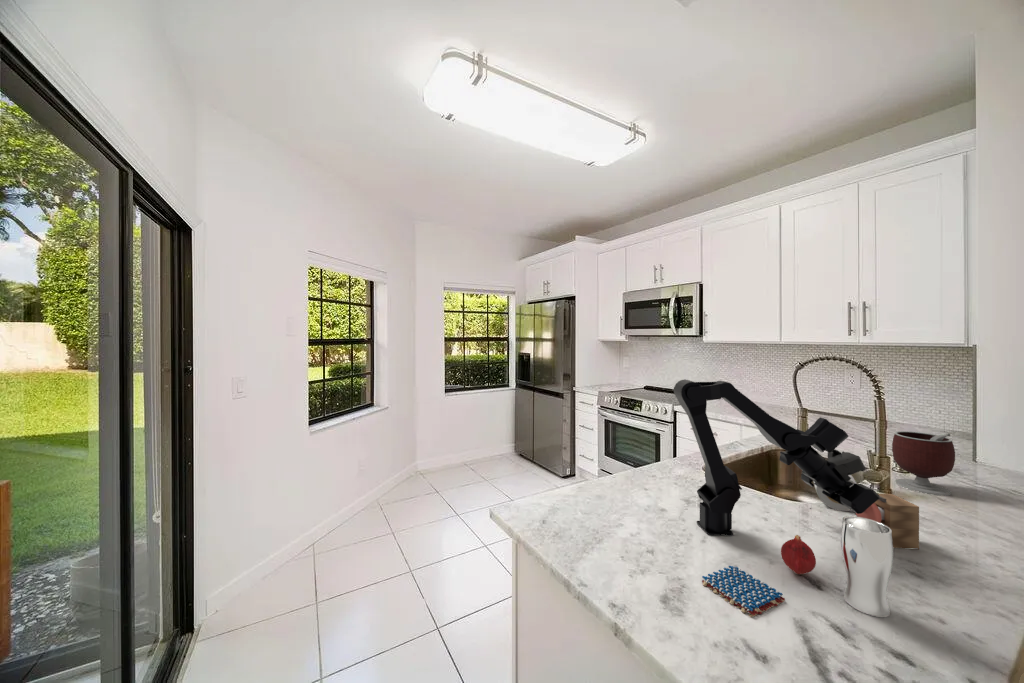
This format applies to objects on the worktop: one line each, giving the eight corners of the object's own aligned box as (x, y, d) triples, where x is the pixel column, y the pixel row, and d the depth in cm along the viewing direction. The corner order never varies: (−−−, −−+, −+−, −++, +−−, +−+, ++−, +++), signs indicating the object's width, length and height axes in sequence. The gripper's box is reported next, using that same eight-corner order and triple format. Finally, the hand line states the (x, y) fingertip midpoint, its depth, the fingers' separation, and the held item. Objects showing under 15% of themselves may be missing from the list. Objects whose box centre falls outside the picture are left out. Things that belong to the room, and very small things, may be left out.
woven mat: (752, 622, 65) (752, 611, 65) (699, 586, 74) (699, 576, 74) (788, 604, 69) (788, 593, 69) (733, 572, 79) (733, 562, 79)
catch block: (889, 547, 87) (889, 501, 87) (864, 532, 94) (864, 489, 94) (919, 549, 86) (919, 503, 86) (892, 533, 93) (892, 491, 93)
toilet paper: (813, 494, 117) (813, 462, 117) (855, 502, 111) (855, 469, 111) (816, 505, 109) (816, 472, 109) (862, 515, 103) (862, 479, 103)
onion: (822, 584, 74) (822, 545, 74) (790, 581, 75) (790, 542, 75) (805, 567, 79) (805, 530, 79) (775, 564, 81) (775, 527, 80)
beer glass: (831, 593, 71) (831, 516, 71) (864, 591, 72) (864, 514, 72) (868, 621, 64) (868, 535, 64) (905, 618, 65) (905, 533, 65)
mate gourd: (880, 478, 129) (880, 422, 129) (925, 480, 128) (925, 423, 127) (923, 497, 114) (923, 433, 114) (975, 500, 112) (975, 434, 112)
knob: (874, 530, 88) (874, 505, 88) (854, 518, 94) (854, 495, 94) (910, 532, 87) (910, 507, 87) (888, 520, 93) (888, 496, 93)
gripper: (869, 454, 82) (926, 506, 81) (813, 433, 101) (858, 475, 99) (830, 487, 83) (885, 539, 82) (781, 460, 102) (826, 502, 100)
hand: (862, 511), depth 91 cm, fingers closed, pressing on knob
